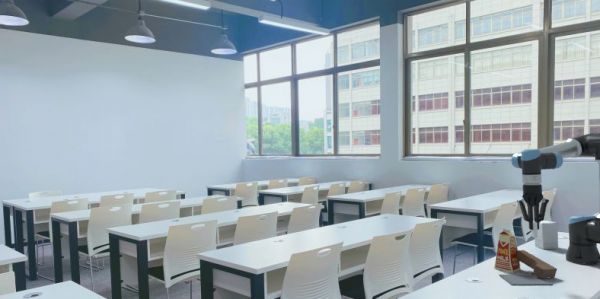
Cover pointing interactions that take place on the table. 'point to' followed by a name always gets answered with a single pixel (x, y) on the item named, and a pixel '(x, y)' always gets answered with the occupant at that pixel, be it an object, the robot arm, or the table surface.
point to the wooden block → (536, 265)
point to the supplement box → (547, 235)
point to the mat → (524, 279)
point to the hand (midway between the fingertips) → (534, 236)
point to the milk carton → (507, 253)
